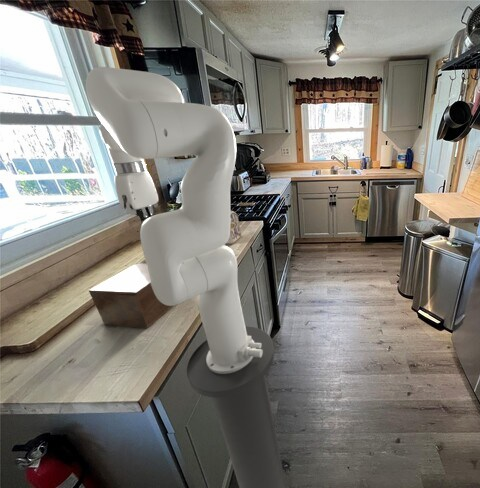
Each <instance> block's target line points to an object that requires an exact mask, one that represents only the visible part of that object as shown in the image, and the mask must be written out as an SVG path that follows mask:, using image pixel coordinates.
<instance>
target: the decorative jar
mask: <svg viewBox="0 0 480 488" xmlns="http://www.w3.org/2000/svg"><path fill="white" fill-rule="evenodd" d="M240 238H242V231H241V226H240V221H239V215H238V214H237V213H236V212H235V211H233V210H231V209H230V236H229V239H228V241H227V243H226V244H225V245H233V244H235V243H236V242H237V241H238V240H239V239H240Z"/></svg>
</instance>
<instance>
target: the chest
mask: <svg viewBox="0 0 480 488" xmlns="http://www.w3.org/2000/svg"><path fill="white" fill-rule="evenodd" d="M89 295H90V296H91V299H92V301H93V304H94V305H95V307H96V310H97V311H98V314H99V316H100V318H101V320H102V323H103V324H104V325H106V326H107V325H108V326H118V327H130V328H141V329H142V328H143V329H148V328H150V327H151V326H152V325H153V324H154V323H155V322H157V320H159V319H160V318H161V317H162V316H163V315H164V314H166V313H167V312H168V311H169V310H170V309H172V307H173V306H168V305H165V304H163V303H161V302H160V301H159V300H158V299H157V297H156V296H155V294H154V292H153V289H152V286H151V285H150V286H149V287H147V288H146V289H145V290H143V291H142V292H140V293H139V294H137V295H132V294H110V293H90V292H89Z"/></svg>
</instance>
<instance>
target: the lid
mask: <svg viewBox="0 0 480 488" xmlns="http://www.w3.org/2000/svg"><path fill="white" fill-rule="evenodd" d="M150 285H151V282H150V278H149V274H148V270H147V266H146V262H144V263H143V262H141V263H140V262H138V263H137V262H136V263H134V264H133V265H131V266H129V267H127V268H126V269H124V270H122V271H121V272H119V273H117V274H115V275H113V276H112V277H110V278H108V279H106V280H104V281H102V282H100V283H99V284H97V285H95V286H93V287H92V288H90V289H88V293H89V294H90V293H110V294H132V295H137V294H139V293H140V292H142V291H143V290H145V289H146V288H147V287H149V286H150Z"/></svg>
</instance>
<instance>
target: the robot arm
mask: <svg viewBox="0 0 480 488" xmlns="http://www.w3.org/2000/svg"><path fill="white" fill-rule="evenodd" d="M85 93H86V97H87V99H88V100H87V101H88V103H89V105H90V108H91V109H92V110H93V113H94V114H95V115H96V117H97V118H98V120H99V121H100V126H99V127H98V131H99V135H100V138H101V140H102V142H103V143H104V145H105V146H106V149H107V152H108V155H109V158H110V161H111V163H112V166H113V169H114V172H115V175H114V177H113V180H114V186H115V191H116V196H117V199H118V202H119V205H120V208H121V209H122V210H126V214H127V215H135V216H136V217H137V218H139V219H140V223H141V226H140V231H139V237H140V243H141V244H140V245H141V248H142V252H143V257H144V261H145V263H146V266H147V270H148V274H149V278H150V282H151V286H152V289H153V292H154V294H155V296H156V297H157V299H158V300H159V301H160V302H161V303H163V304H165V305H168V306H172V307H174V306H177V305H180V304H183V303H185V302H187V301H190V300H192V299H194V298H197V297H198V296H199V297H198V301H197V302H198V303H197V305H198V306H197V307H198V312H199V316H200V320H201V323H202V327H203V331H204V333H205V337H206V340H207V341H208V344H209V348H210V351H209V352H208V354H207V358H206V363H207V366H208V368H209V369H210V370H211V371H212V372H215V373H218V374H227V373H232V372H235V371H237V370H240V369H241V368H243V367H245V366H246V365H247V364H248V363H249V362H250V361H251V360H252V358H253V357H260V358H261V357H262V354H263V350H261V349H256V348H261V346H262V344H261V343H254V341H253V340H252V338H251V336H247V332H246V327H247V326H246V322H245V319H244V318H245V317H244V313H243V308H242V304H241V303H242V302H241V297H240V292H239V285H238V283H239V282H238V259H237V257H236V254H235V252H234V250H233V249H232V248H230V247H229V246H227V244H226V243H227V241H228V239H229V236H230V210H231V187H232V186H231V185H232V179H233V175H234V171H235V165H236V159H237V142H236V141H237V140H236V136H235V133H234V128H233V126H232V125H231V122H230V120H229V119H228V117H227V116H226V115H225V114H224V113H223V112H222V111H221V110H219V109H218V108H215V107H214V106H210V105H207V104H201V103H195V102H194V103H193V102H185V98H184V95H183V93H182V91H181V89H180V87H178V85H177V84H176V83H174V81H172V80H171V79H169V77H166V76H164V75H161V74H158V73H155V72H150V71H142V70H136V69H135V70H134V69H125V68H118V67H109V66H99V67H94V68H92V69H91V70H90V71H89V72H88V73H87V76H86V79H85ZM186 156H195V159H194V160H193V162H192V163H191V164H190V165H189V166H188V168H187V169H186V172H185V174H184V175H183V177H182V179H181V182H180V195H181V207H179V208H178V209H175V210H170V211H166V212H161V213H158V214H155V213H154V211H155V208H157V207H158V206H159V194H158V191H157V189H156V185H155V183H154V181H153V178H152V177H151V175H150V173H149V171H148V169H147V164H146V163H145V160H152V159H165V158H174V157H175V158H177V157H186ZM154 214H155V215H154Z"/></svg>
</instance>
